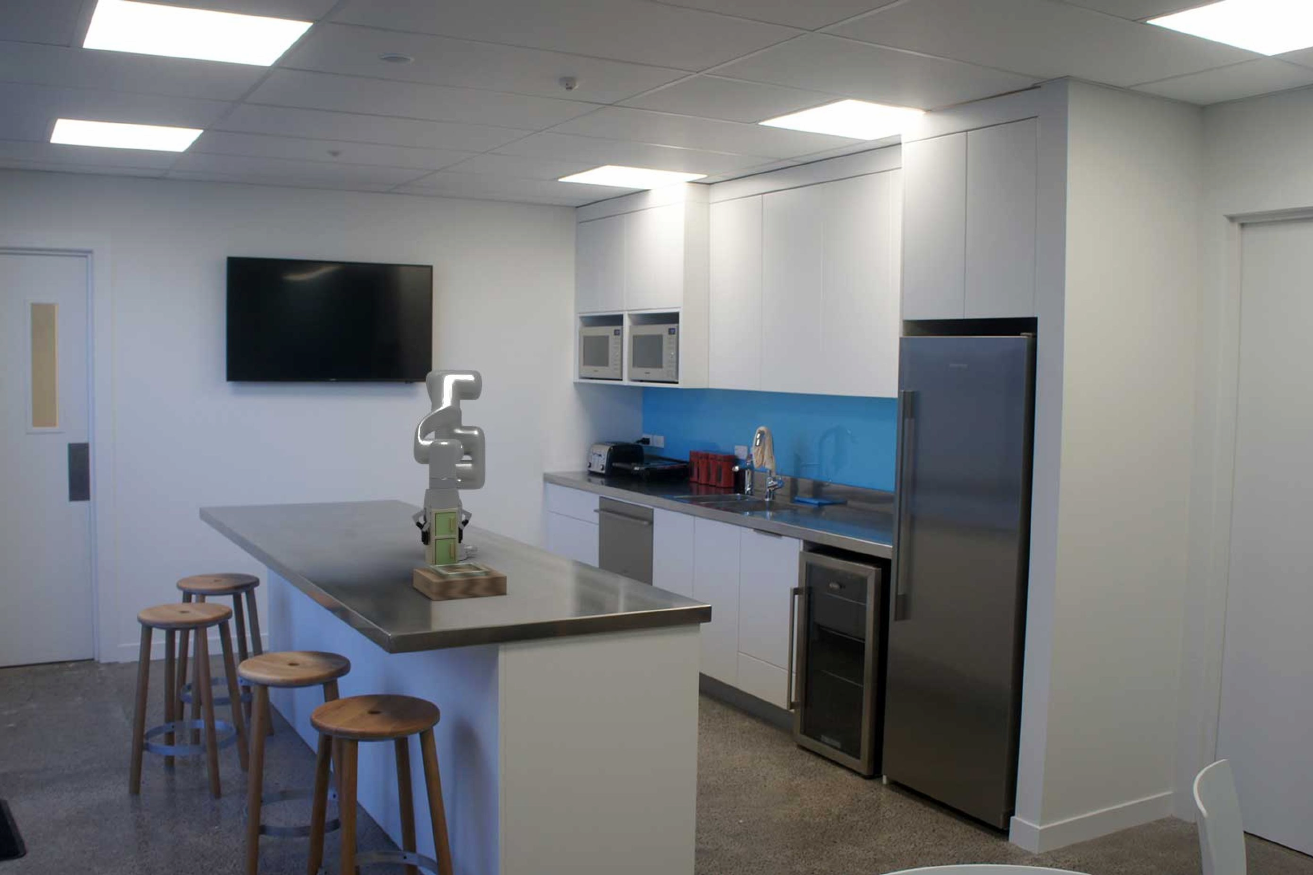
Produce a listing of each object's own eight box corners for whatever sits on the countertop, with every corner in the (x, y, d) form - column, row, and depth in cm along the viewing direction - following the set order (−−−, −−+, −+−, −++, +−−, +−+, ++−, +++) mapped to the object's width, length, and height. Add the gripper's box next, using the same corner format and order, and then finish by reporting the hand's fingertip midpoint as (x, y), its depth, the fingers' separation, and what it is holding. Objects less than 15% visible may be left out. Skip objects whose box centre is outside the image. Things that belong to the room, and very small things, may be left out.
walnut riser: (482, 581, 320) (482, 559, 319) (506, 594, 302) (506, 571, 302) (413, 586, 311) (413, 564, 310) (434, 600, 293) (434, 577, 292)
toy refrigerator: (432, 583, 315) (432, 509, 314) (424, 579, 322) (425, 506, 321) (459, 581, 319) (459, 508, 318) (451, 577, 326) (452, 505, 324)
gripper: (467, 482, 326) (467, 540, 327) (408, 483, 318) (408, 543, 319) (475, 484, 319) (475, 543, 320) (416, 486, 311) (416, 547, 312)
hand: (442, 543), depth 320 cm, fingers open, 9 cm apart
